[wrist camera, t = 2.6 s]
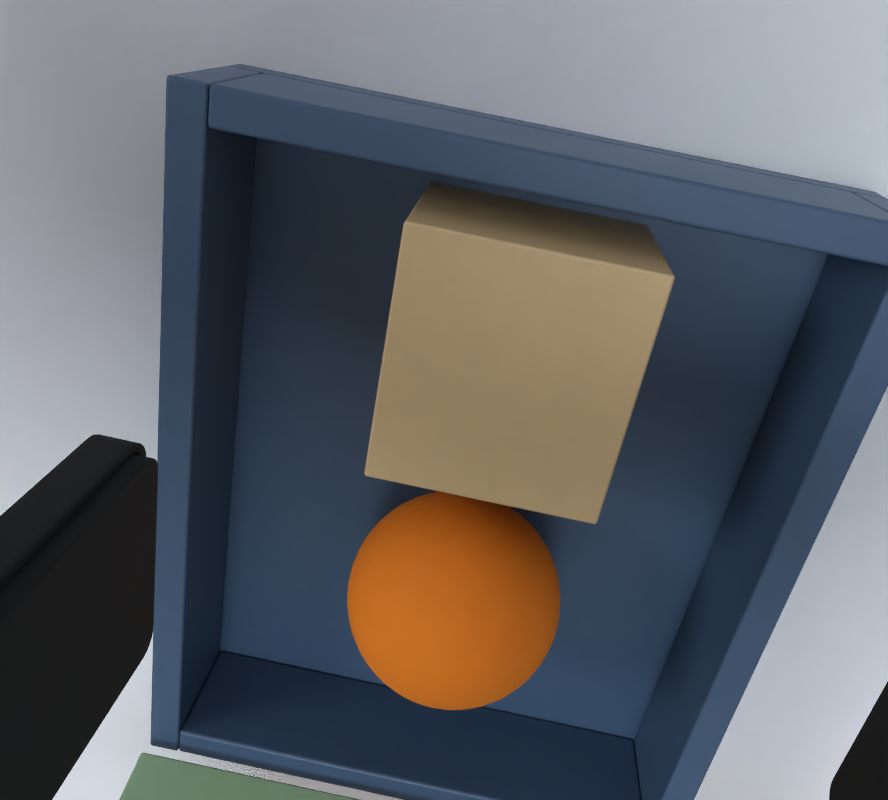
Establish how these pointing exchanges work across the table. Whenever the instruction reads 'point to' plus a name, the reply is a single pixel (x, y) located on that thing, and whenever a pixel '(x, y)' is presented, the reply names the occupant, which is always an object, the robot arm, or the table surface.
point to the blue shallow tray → (370, 499)
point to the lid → (207, 784)
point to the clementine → (453, 601)
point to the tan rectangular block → (514, 350)
